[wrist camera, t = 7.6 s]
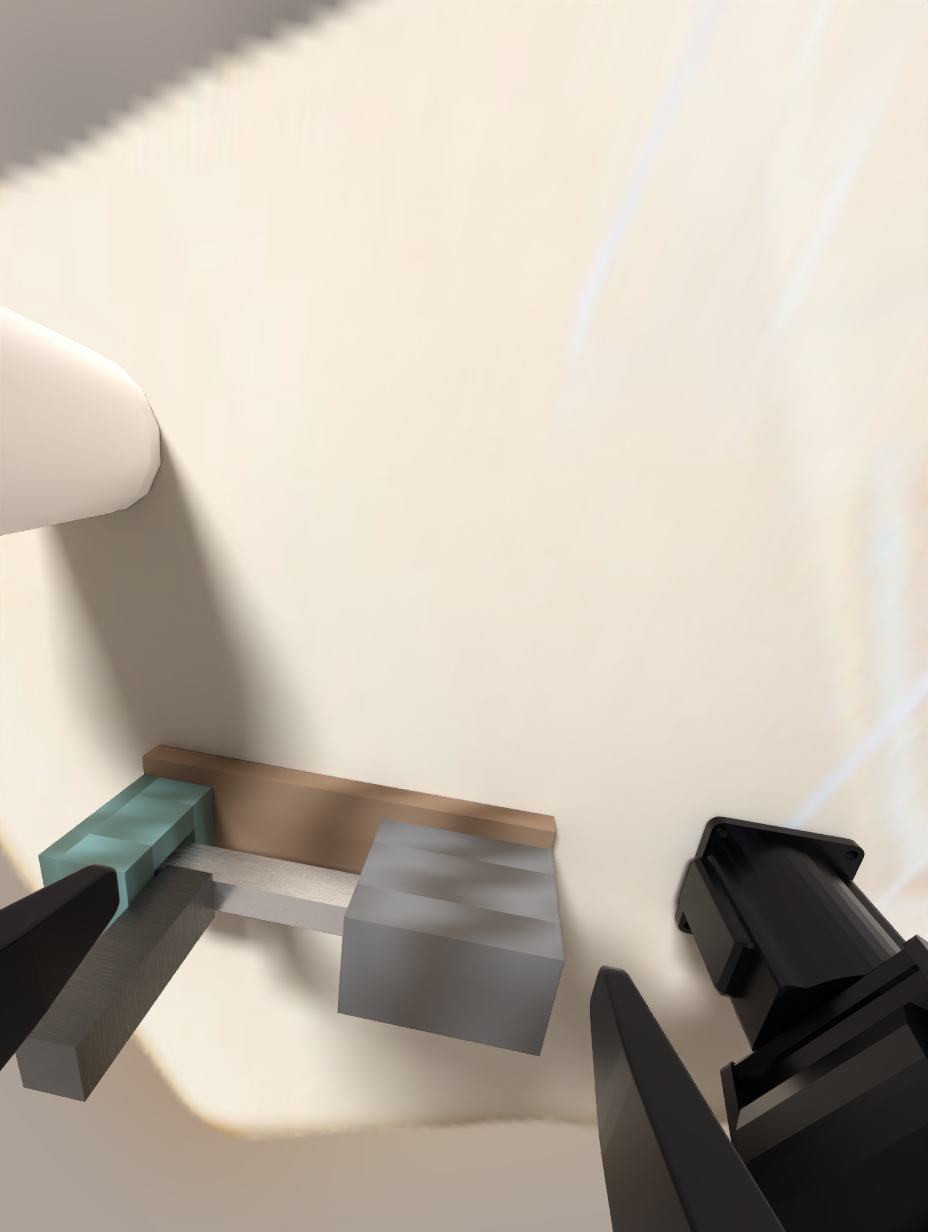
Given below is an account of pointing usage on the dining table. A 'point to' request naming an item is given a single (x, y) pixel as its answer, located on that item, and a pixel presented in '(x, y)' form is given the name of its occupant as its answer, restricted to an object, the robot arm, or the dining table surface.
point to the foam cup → (68, 430)
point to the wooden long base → (366, 883)
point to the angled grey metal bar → (166, 953)
